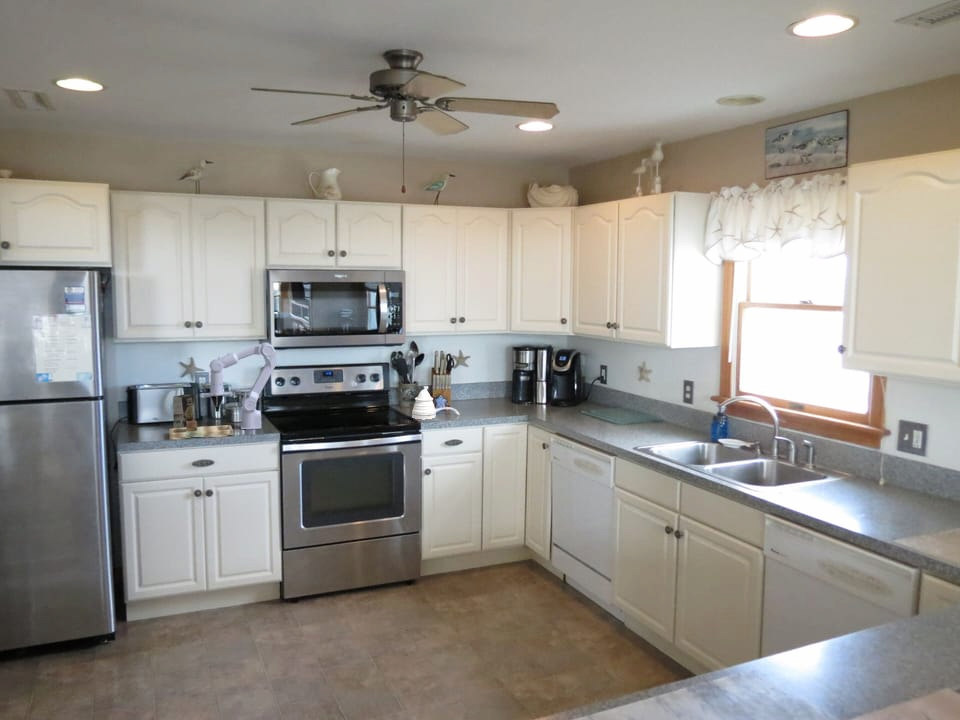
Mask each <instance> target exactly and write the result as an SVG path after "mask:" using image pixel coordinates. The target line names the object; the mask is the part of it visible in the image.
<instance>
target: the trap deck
mask: <svg viewBox="0 0 960 720" xmlns="http://www.w3.org/2000/svg"><path fill="white" fill-rule="evenodd" d="M168 433H169V441H170V440H172V441H173V440H185V439H184V438H190V439H192V438H191V437H206V438H221V437H229V436H228V435H233V436H234V430H233V428H232V425H231V424H225V425H224V424H223V425H209V426H206V425H205V426H197V431H187V428H174V427H173V428H169V431H168Z"/></svg>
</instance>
